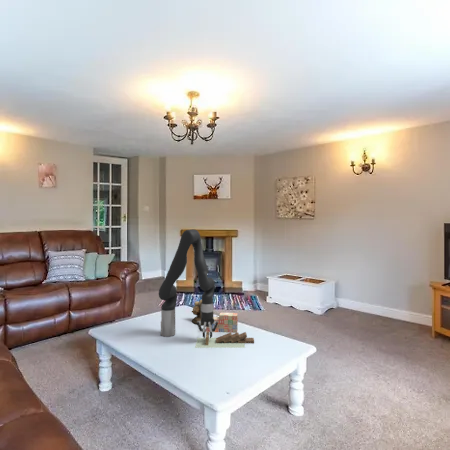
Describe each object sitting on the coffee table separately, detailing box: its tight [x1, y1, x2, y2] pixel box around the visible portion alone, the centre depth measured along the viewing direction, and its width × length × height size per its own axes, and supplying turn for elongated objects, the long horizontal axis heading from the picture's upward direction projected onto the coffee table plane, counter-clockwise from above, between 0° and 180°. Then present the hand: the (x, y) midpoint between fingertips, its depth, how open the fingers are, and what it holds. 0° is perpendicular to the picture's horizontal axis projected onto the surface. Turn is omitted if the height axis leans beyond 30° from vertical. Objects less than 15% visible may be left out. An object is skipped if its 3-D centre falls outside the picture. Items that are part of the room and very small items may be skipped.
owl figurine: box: [191, 299, 204, 327], centre depth 243 cm, size 18×12×17 cm, turn 51°
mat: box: [194, 337, 246, 349], centre depth 203 cm, size 30×16×1 cm, turn 90°
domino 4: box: [231, 331, 248, 343], centre depth 203 cm, size 2×5×10 cm
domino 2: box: [215, 333, 233, 343], centre depth 204 cm, size 2×5×10 cm
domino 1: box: [205, 331, 210, 345], centre depth 203 cm, size 2×5×10 cm
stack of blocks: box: [205, 312, 239, 334], centre depth 223 cm, size 21×6×12 cm, turn 84°
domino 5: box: [238, 337, 255, 344], centre depth 204 cm, size 2×5×10 cm
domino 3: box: [224, 331, 240, 343], centre depth 204 cm, size 2×5×10 cm
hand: (207, 337), depth 204 cm, fingers open, 3 cm apart
